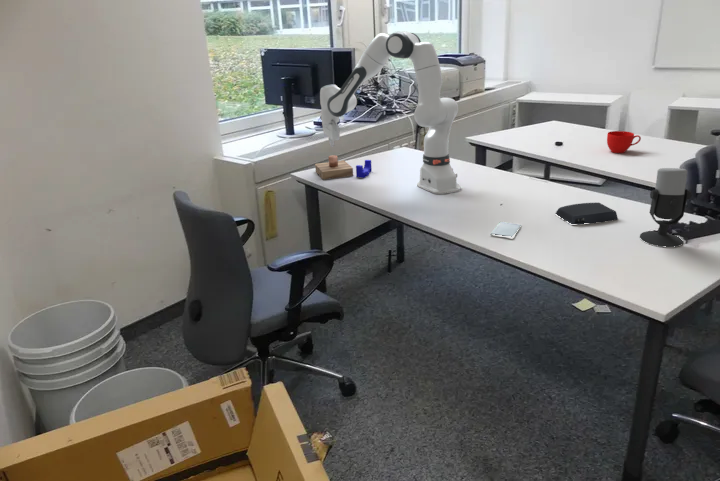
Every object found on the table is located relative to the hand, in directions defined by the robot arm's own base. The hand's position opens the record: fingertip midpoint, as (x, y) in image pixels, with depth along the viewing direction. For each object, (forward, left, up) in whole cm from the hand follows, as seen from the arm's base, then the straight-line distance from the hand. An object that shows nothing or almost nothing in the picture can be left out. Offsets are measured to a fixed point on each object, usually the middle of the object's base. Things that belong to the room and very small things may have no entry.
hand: (332, 145), depth 258 cm
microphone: (-127, -83, -15) cm, 152 cm away
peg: (0, 0, -14) cm, 14 cm away
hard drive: (-100, -39, -15) cm, 109 cm away
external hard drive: (-100, -74, -15) cm, 126 cm away
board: (0, 0, -15) cm, 15 cm away
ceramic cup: (-30, -155, -15) cm, 159 cm away
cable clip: (-8, -15, -15) cm, 23 cm away
